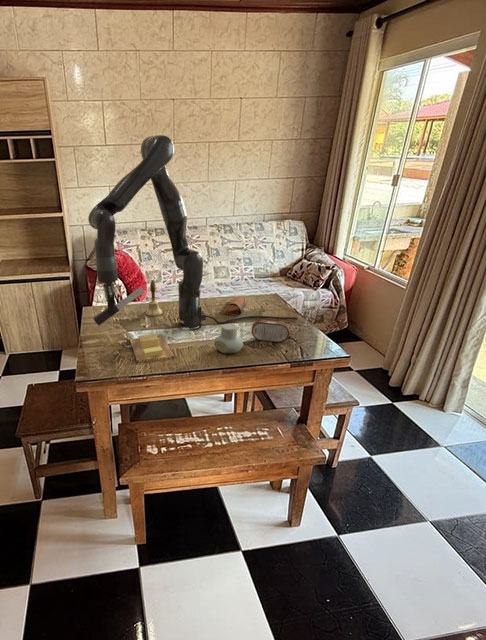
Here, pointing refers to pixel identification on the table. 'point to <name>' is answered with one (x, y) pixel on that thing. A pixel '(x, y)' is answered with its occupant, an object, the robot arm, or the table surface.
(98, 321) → the knife
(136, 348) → the board
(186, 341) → the table surface
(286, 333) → the tin
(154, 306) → the hand bell
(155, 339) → the butter
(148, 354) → the butter slice
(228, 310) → the sunglasses case
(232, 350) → the air freshener
